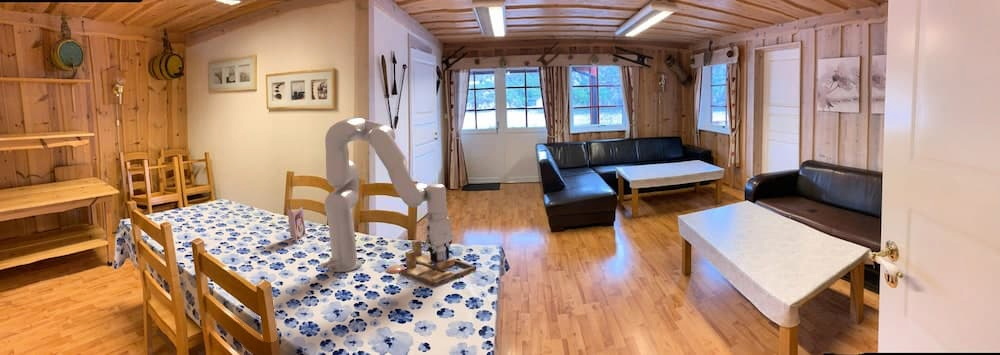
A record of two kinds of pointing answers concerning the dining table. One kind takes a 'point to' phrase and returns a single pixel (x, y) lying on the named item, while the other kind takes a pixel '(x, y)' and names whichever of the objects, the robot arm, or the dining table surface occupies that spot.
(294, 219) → the greeting card
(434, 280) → the lane rails
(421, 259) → the slat bottle lane
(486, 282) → the dining table surface
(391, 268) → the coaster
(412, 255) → the tan wooden block
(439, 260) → the pill bottle
